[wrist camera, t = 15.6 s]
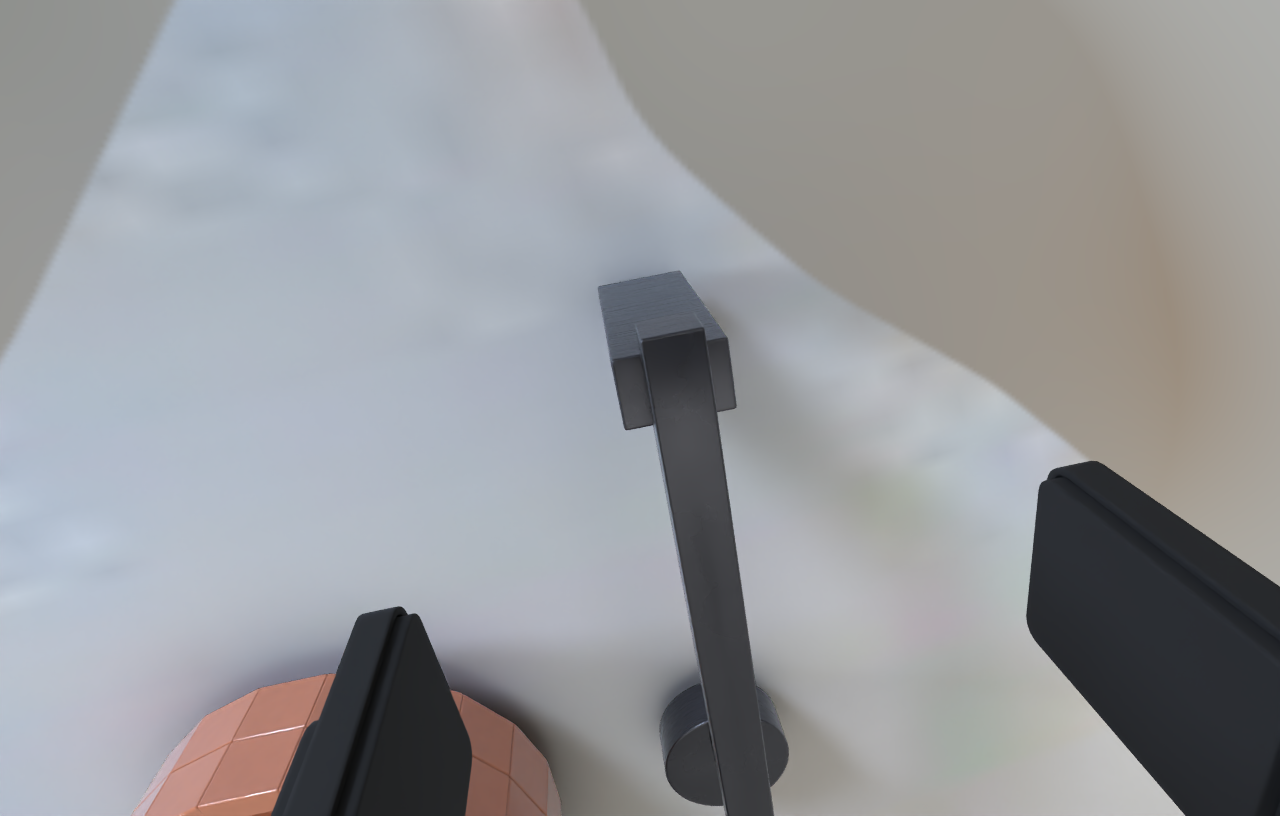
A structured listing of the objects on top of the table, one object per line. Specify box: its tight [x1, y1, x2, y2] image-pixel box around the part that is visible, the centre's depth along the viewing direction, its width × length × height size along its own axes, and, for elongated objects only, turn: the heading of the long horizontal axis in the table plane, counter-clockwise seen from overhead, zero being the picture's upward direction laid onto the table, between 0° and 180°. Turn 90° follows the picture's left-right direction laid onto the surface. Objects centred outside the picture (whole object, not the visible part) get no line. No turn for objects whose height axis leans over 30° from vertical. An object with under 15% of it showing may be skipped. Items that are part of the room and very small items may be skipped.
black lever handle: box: [598, 271, 789, 816], centre depth 20 cm, size 21×5×8 cm, turn 10°
